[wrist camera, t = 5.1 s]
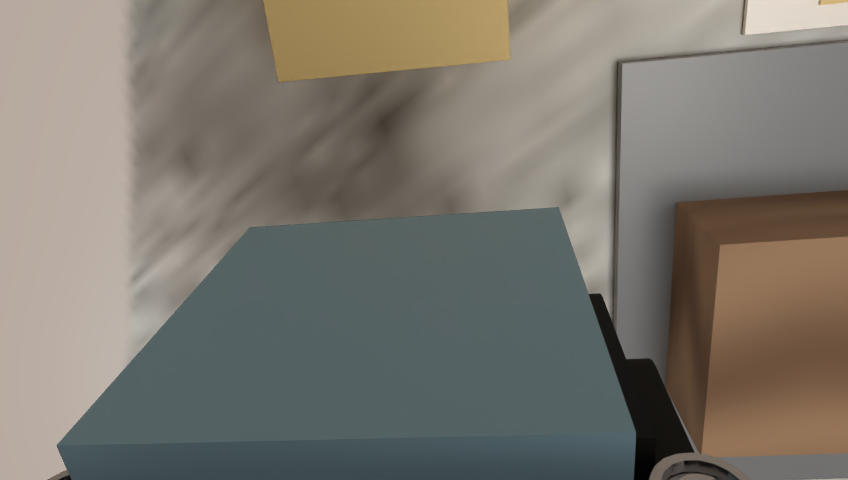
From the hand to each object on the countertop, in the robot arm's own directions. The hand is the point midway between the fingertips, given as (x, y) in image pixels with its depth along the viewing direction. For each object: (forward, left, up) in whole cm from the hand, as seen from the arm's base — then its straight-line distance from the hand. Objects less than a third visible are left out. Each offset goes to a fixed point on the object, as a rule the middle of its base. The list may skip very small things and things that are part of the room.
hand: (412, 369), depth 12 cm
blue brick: (0, 0, -1) cm, 1 cm away
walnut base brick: (+5, +13, -11) cm, 17 cm away
